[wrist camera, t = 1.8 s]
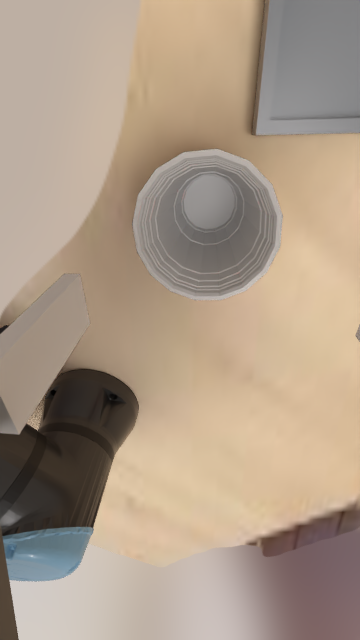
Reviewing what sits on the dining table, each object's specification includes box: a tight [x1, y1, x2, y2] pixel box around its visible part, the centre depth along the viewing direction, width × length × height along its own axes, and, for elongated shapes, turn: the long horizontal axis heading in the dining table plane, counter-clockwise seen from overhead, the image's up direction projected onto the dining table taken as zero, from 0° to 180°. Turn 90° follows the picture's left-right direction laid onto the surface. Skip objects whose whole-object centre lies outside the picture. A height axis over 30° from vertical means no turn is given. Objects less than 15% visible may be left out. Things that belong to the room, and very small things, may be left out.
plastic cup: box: [132, 149, 283, 300], centre depth 26 cm, size 11×11×12 cm
